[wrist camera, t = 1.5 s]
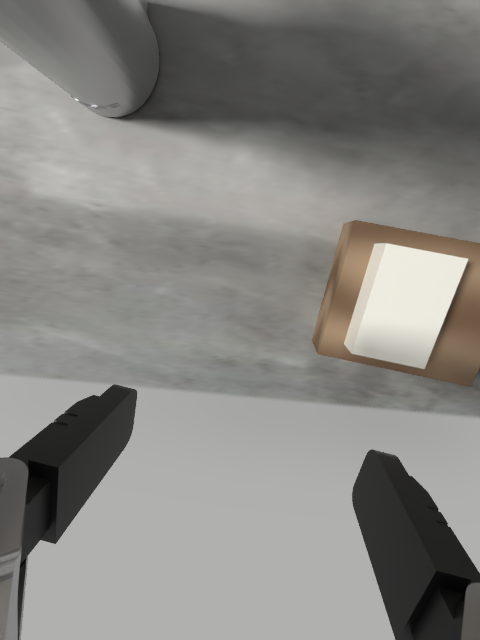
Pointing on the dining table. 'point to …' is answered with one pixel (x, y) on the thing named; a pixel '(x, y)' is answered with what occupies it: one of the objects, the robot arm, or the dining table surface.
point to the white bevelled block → (403, 304)
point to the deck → (459, 324)
